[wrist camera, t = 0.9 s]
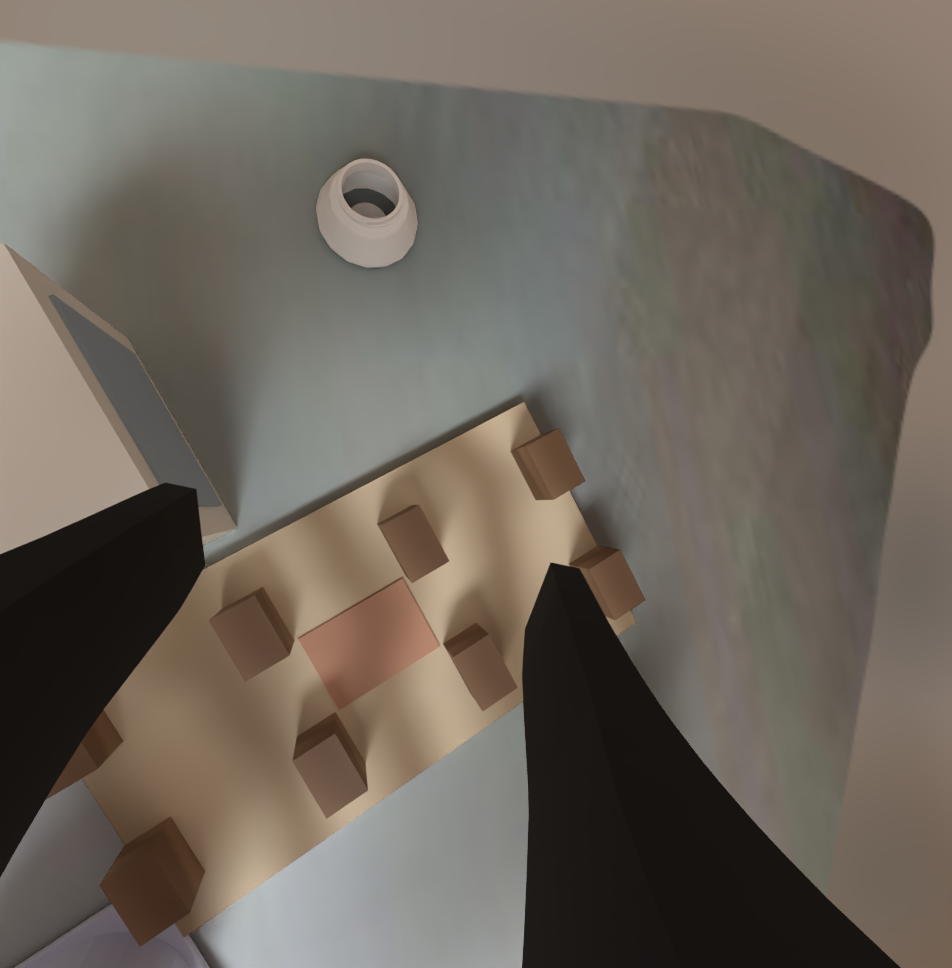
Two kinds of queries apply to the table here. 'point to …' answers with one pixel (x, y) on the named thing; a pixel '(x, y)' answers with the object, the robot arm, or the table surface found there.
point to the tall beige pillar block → (79, 416)
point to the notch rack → (333, 668)
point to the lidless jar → (366, 216)
